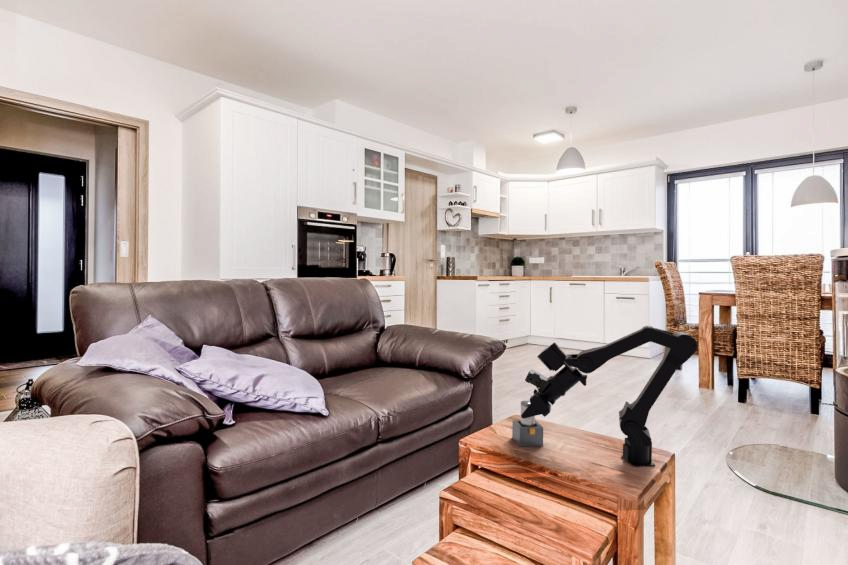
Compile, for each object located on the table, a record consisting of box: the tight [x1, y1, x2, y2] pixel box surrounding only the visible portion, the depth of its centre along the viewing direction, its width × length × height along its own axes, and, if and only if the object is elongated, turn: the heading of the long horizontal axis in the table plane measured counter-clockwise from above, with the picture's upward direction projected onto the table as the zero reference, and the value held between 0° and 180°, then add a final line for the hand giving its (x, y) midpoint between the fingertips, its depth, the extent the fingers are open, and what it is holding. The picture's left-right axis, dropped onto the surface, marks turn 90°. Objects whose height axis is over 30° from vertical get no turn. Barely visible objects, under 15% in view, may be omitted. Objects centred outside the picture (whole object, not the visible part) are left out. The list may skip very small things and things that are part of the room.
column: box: [520, 400, 536, 427], centre depth 134 cm, size 4×4×12 cm
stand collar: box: [511, 419, 544, 448], centre depth 133 cm, size 8×8×6 cm
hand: (523, 414), depth 134 cm, fingers closed on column, 4 cm apart
